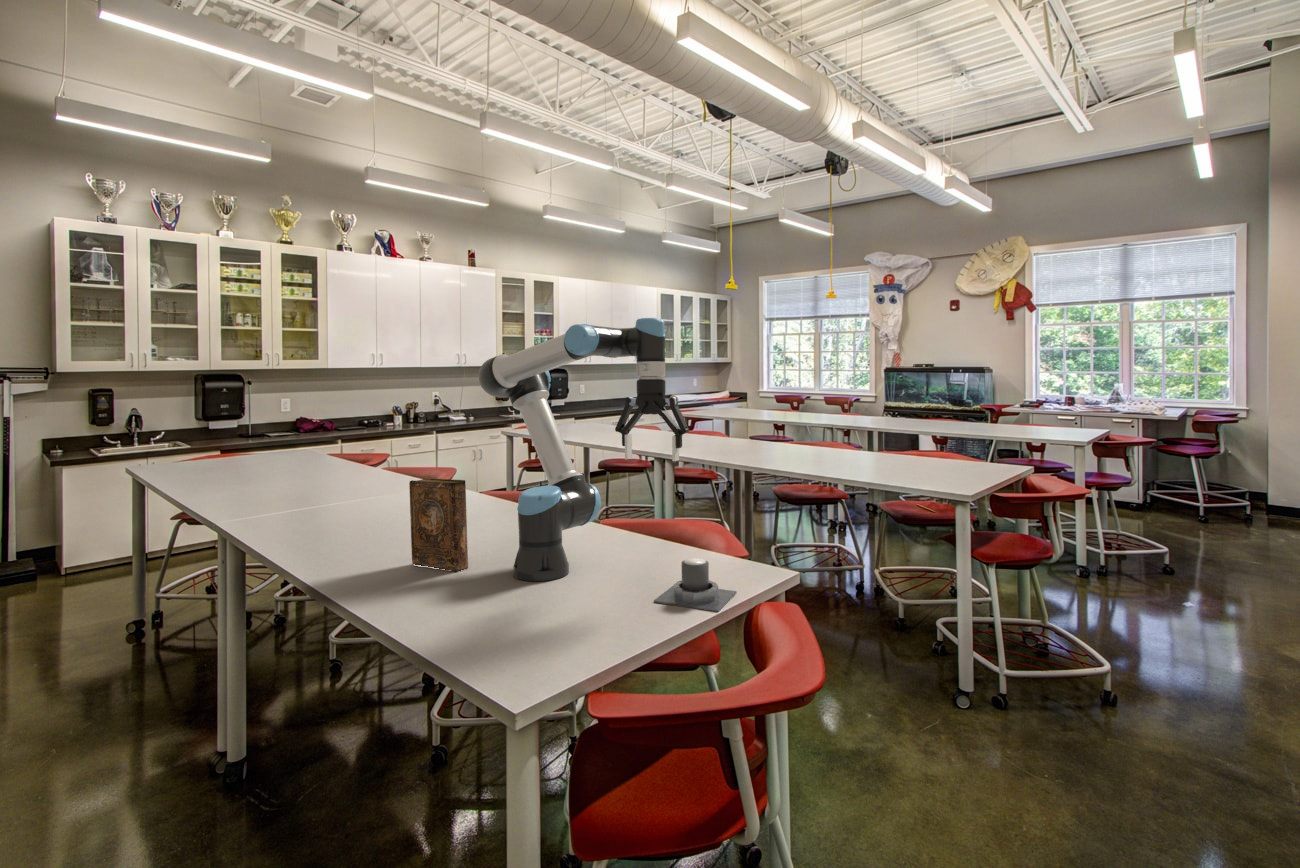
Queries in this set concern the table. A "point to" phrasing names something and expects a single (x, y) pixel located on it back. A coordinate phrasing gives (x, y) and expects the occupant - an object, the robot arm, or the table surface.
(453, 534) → the book
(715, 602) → the barrel mount
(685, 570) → the lens barrel
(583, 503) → the robot arm
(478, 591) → the table surface
